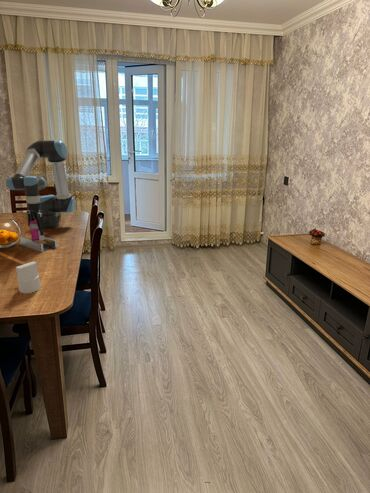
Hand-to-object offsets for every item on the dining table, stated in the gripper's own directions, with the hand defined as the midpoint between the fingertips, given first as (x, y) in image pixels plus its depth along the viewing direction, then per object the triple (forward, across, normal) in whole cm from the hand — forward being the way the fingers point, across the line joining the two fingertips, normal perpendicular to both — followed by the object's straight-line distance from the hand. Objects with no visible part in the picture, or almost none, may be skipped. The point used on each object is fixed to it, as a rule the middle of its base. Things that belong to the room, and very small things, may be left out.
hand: (37, 238), depth 212 cm
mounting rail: (+6, 0, 0) cm, 6 cm away
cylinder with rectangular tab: (+6, +51, -35) cm, 62 cm away
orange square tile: (+3, 0, 0) cm, 3 cm away
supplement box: (+1, 0, 0) cm, 1 cm away
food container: (+6, -58, +51) cm, 77 cm away
